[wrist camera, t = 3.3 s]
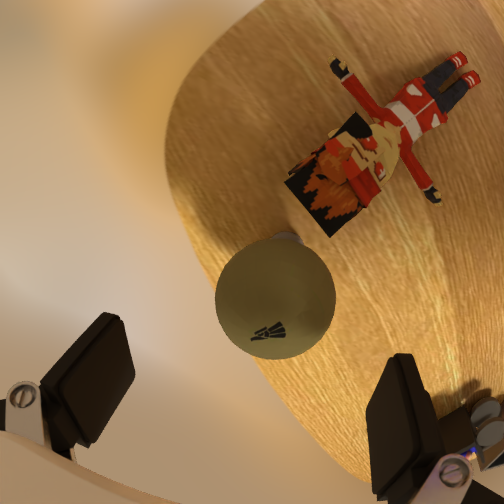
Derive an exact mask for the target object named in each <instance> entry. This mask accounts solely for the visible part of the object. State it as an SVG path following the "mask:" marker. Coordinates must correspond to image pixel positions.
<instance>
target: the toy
mask: <svg viewBox="0 0 504 504" xmlns="http://www.w3.org/2000/svg"><path fill="white" fill-rule="evenodd" d="M327 60H328V63H329V65H330V67H331V70H332V72H333V73H334V74H335V75H336V76H337V77H338V78H339V79H340V80H341V84H342V85H343V86H344V87H345V88H346V89H347V90H348V91H349V92H350V93H351V94H352V95H353V97H354V98H355V99H356V100H357V101H358V102H359V103H360V105H361V106H362V107H363V108H364V109H365V111H366V112H367V113H368V114H369V116H370V117H371V118H372V120H373V121H374V123H375V124H372V125H368V124H367V123H366V122H365V121H364V120H363V119H362V117H361V116H360V115H359V114H358V113H357V112H355V113H354V114H353V115H352V116H351V117H350V118H349V119H348V120H347V121H346V122H345V123H344V124H343V125H342V127H340V128H337V129H335V130H333V131H331V132H330V133H328V136H329V138H330V139H329V140H328V141H327V142H326V143H325V144H324V145H323V146H322V147H320V148H318V149H317V150H315V151H313V152H312V153H311V156H309V157H307V158H306V159H304V160H302V161H301V162H300V163H298V164H297V165H296V166H295V167H294V168H293V169H292V170H290V171H289V172H288V174H289V176H290V175H291V174H292V173H295V175H293V176H292V177H290V178H289V179H287V180H286V181H284V183H285V184H286V186H287V187H288V188H289V189H290V190H291V191H292V193H293V194H294V195H295V196H296V197H297V199H298V200H299V201H300V202H301V203H302V205H303V206H304V207H305V208H306V209H307V211H308V212H309V213H310V214H311V216H312V217H313V218H314V219H315V220H316V222H317V223H318V224H319V225H320V227H321V228H322V229H323V230H324V232H325V233H326V234H327V235H328V237H329V238H330V237H332V236H333V235H334V234H335V233H336V232H337V231H338V230H339V229H340V228H341V227H342V226H343V225H344V224H345V223H346V222H348V221H349V220H351V219H352V218H354V217H355V216H356V215H357V214H358V213H359V212H360V211H361V210H362V209H363V208H367V206H368V205H369V203H370V201H371V200H372V198H373V197H375V196H376V195H377V194H378V193H379V192H381V188H382V187H383V185H384V184H385V183H386V182H387V181H388V180H389V179H390V178H391V176H392V173H393V171H394V168H395V166H396V163H397V161H398V158H399V156H400V158H401V159H402V161H403V162H404V164H405V165H406V167H407V168H408V170H409V171H410V173H411V175H412V176H413V178H414V180H415V182H416V184H417V185H418V187H419V188H420V189H421V190H423V192H424V194H425V196H426V198H427V199H429V200H430V201H431V202H432V203H433V204H434V205H435V206H437V207H438V206H441V205H443V202H442V200H441V198H440V197H441V196H442V195H441V193H440V192H439V191H438V190H436V189H435V188H434V187H433V186H432V185H433V182H432V180H431V179H430V177H429V176H428V175H427V173H426V172H425V171H424V169H423V168H422V166H421V165H420V163H419V162H418V160H417V159H416V157H415V156H414V154H413V153H412V151H411V146H412V145H413V144H414V143H415V141H416V140H417V139H418V138H419V137H420V136H421V135H422V134H424V133H425V132H426V131H428V130H430V129H432V128H434V127H436V126H438V125H440V124H442V123H446V122H447V120H448V116H447V113H448V112H449V111H450V110H451V109H452V108H453V107H454V106H455V105H456V103H457V102H458V101H459V100H460V99H461V98H462V97H463V96H464V95H465V93H466V92H467V91H468V89H471V88H472V87H474V86H475V85H477V84H479V83H480V82H481V80H480V77H479V75H478V74H477V73H476V72H475V71H474V70H472V71H470V72H467V73H465V74H463V75H462V76H461V77H460V78H458V81H456V82H455V83H453V84H452V85H451V86H449V87H448V88H447V89H446V90H445V91H444V92H442V93H441V94H440V92H439V91H438V88H439V87H440V86H441V85H442V84H443V83H444V81H445V80H447V79H448V78H449V77H450V76H451V75H452V74H453V73H454V71H456V70H458V69H459V68H461V67H462V66H464V65H465V64H467V63H468V61H467V58H466V56H465V55H464V54H463V53H462V52H461V51H459V52H457V53H455V54H453V55H451V56H450V57H448V58H447V59H446V60H445V62H443V63H442V64H440V65H439V66H437V67H436V68H434V69H433V70H432V71H431V72H429V73H428V74H426V75H425V76H423V77H422V78H420V77H418V78H415V79H413V80H411V81H409V82H407V83H406V84H404V87H403V88H402V89H401V90H400V91H399V92H398V93H397V94H396V95H395V97H394V98H393V99H392V100H391V101H390V102H389V103H388V104H387V105H386V106H385V107H383V108H381V107H379V106H378V105H377V103H376V102H375V101H374V100H373V98H372V97H371V96H370V95H369V93H368V92H367V91H366V90H365V88H364V87H363V86H362V84H361V83H360V82H359V80H358V79H357V77H356V76H355V75H354V73H350V72H349V71H348V68H347V64H346V63H345V62H344V61H342V62H340V61H339V60H338V59H337V58H336V56H335V55H334V54H333V55H332V56H330V57H329V58H328V59H327Z"/></svg>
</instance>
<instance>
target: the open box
mask: <svg viewBox="0 0 504 504" xmlns="http://www.w3.org/2000/svg"><path fill="white" fill-rule="evenodd" d="M498 417H500V418H502V419H503V420H504V401H503V403H502V404H501V405H500V413H499V415H498ZM483 455H484V459H485V463H482V461H481V459H480V457H479V455H476V456H477V460H478V463H479V467H480V471H481V472H482V471H486V470H489V469H493V468H496V467H500V466H503V465H504V436H503V438H502V439H501V441H499V442H498V443H496V444H495V445H493V446H492V447H490V448H488V449H487V450H485V451H483Z"/></svg>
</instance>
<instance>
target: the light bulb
mask: <svg viewBox="0 0 504 504" xmlns="http://www.w3.org/2000/svg"><path fill="white" fill-rule="evenodd" d="M335 304H336V292H335V287H334V282H333V279H332V276H331V273H330V272H329V270H328V268H327V267H326V265H325V263H324V262H323V261H322V259H321V258H320V257H319V256H318V255H317V254H316V253H315V252H313V251H312V250H311V249H309V248H308V247H306V246H304V243H303V241H302V239H301V238H300V237H299V236H298V235H296V234H295V233H292V232H280V233H277V234H275V235H274V236H273V237H272V238H271V239H265V240H260V241H257V242H255V243H252V244H250V245H248V246H246V247H244V248H243V249H242V250H240V251H239V252H237V253H236V254H235V255H234V256H233V257H232V258H231V259H230V261H229V262H228V263H227V264H226V266H225V267H224V269H223V271H222V273H221V275H220V277H219V280H218V283H217V287H216V293H215V305H216V313H217V316H218V320H219V323H220V324H221V326H222V328H223V330H224V332H225V333H226V335H227V336H228V337H229V339H230V340H231V341H232V342H233V343H234V344H235V345H236V346H238V347H239V348H240V349H242V350H243V351H245V352H247V353H249V354H251V355H253V356H256V357H259V358H263V359H272V360H277V359H286V358H291V357H295V356H297V355H300V354H302V353H304V352H305V351H307V350H308V349H310V348H311V347H313V346H314V345H315V344H316V343H317V342H318V341H319V340H320V339H321V338H322V337H323V335H324V334H325V332H326V331H327V329H328V328H329V326H330V323H331V321H332V318H333V316H334V311H335Z"/></svg>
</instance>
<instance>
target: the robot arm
mask: <svg viewBox="0 0 504 504" xmlns="http://www.w3.org/2000/svg"><path fill="white" fill-rule="evenodd" d="M134 378H135V369H134V365H133V361H132V357H131V353H130V349H129V345H128V340H127V336H126V332H125V327H124V323H123V321H122V320H120V317H119V316H118V315H115V314H111V313H107V312H103V313H102V314H101V315H100V316H99V317H98V318H97V319H96V320H95V321H94V322H93V323H92V324H91V325H90V326H89V327H88V328H87V330H86V331H85V332H84V333H83V334H82V335H81V336H80V337H79V338H78V339H77V341H75V343H73V345H72V346H71V347H70V348H69V349H68V350H67V351H66V352H65V353H64V355H63V356H62V357H61V358H60V359H59V360H58V361H57V362H56V363H55V365H54V366H53V367H52V368H51V369H50V370H49V371H48V373H47V374H46V375H45V376H44V377H43V378H42V380H41V381H40V383H41V385H40V386H39V387H38V386H37V385H36V384H35V383H33V382H30V381H22V382H19V383H17V384H15V385H13V386H12V387H11V388H10V390H9V391H8V393H7V397H6V399H3V400H0V504H180V503H175V502H172V501H169V500H166V499H163V498H159V497H156V496H153V495H150V494H147V493H145V492H142V491H139V490H136V489H133V488H131V487H128V486H125V485H123V484H121V483H118V482H116V481H113V480H111V479H108V478H106V477H104V476H102V475H99V474H97V473H95V472H93V471H91V470H89V469H87V468H84V467H82V466H80V465H78V464H77V461H76V457H75V452H74V445H75V443H78V444H80V445H82V446H84V447H86V448H89V447H90V445H91V443H95V442H96V441H97V440H98V438H99V436H100V435H101V433H102V431H103V430H104V428H105V426H106V424H107V423H108V421H109V420H110V418H111V416H112V415H113V413H114V411H115V410H116V408H117V406H118V405H119V403H120V402H121V400H122V398H123V397H124V395H125V394H126V392H127V390H128V389H129V387H130V385H131V384H132V382H133V381H134ZM366 423H367V432H368V442H369V453H370V465H371V480H372V492H373V494H377V501H385V500H388V504H504V498H503V497H501V496H500V495H498V494H496V493H495V492H493V491H491V490H490V489H488V488H486V487H484V486H483V485H481V484H480V483H478V482H476V481H475V480H473V479H472V478H473V468H472V465H471V463H470V462H469V460H468V459H467V458H465V457H464V456H462V455H459V454H448V455H447V453H446V449H445V445H444V442H443V438H442V434H441V431H440V427H439V424H438V420H437V417H436V414H435V410H434V407H433V404H432V401H431V398H430V395H429V393H428V392H427V391H426V390H425V389H424V386H423V383H422V380H421V377H420V374H419V371H418V369H417V366H416V363H415V360H414V357H413V355H412V354H404V353H396V354H395V355H394V356H393V357H390V358H389V359H388V361H387V364H386V366H385V368H384V371H383V373H382V375H381V378H380V380H379V382H378V384H377V387H376V389H375V391H374V393H373V395H372V397H371V399H370V401H369V403H368V406H367V408H366Z"/></svg>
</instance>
